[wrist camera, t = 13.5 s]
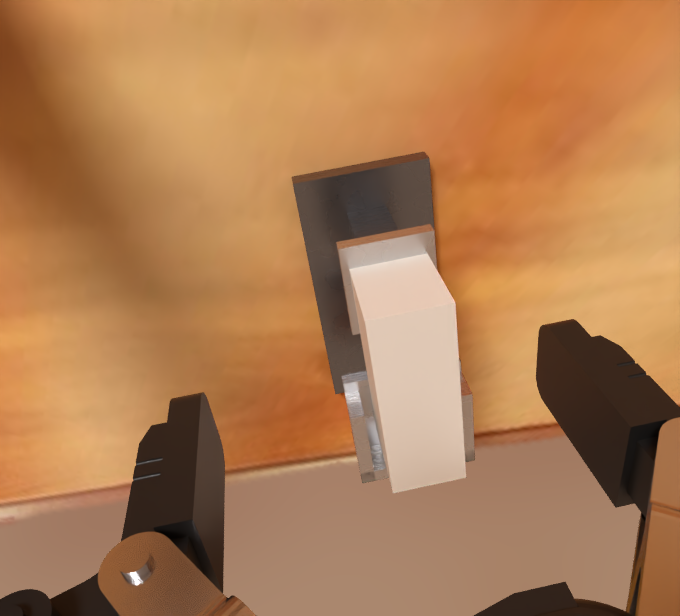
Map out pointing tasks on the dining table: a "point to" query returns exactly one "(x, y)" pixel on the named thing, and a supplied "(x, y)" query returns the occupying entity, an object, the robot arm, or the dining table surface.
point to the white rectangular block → (412, 369)
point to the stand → (362, 250)
